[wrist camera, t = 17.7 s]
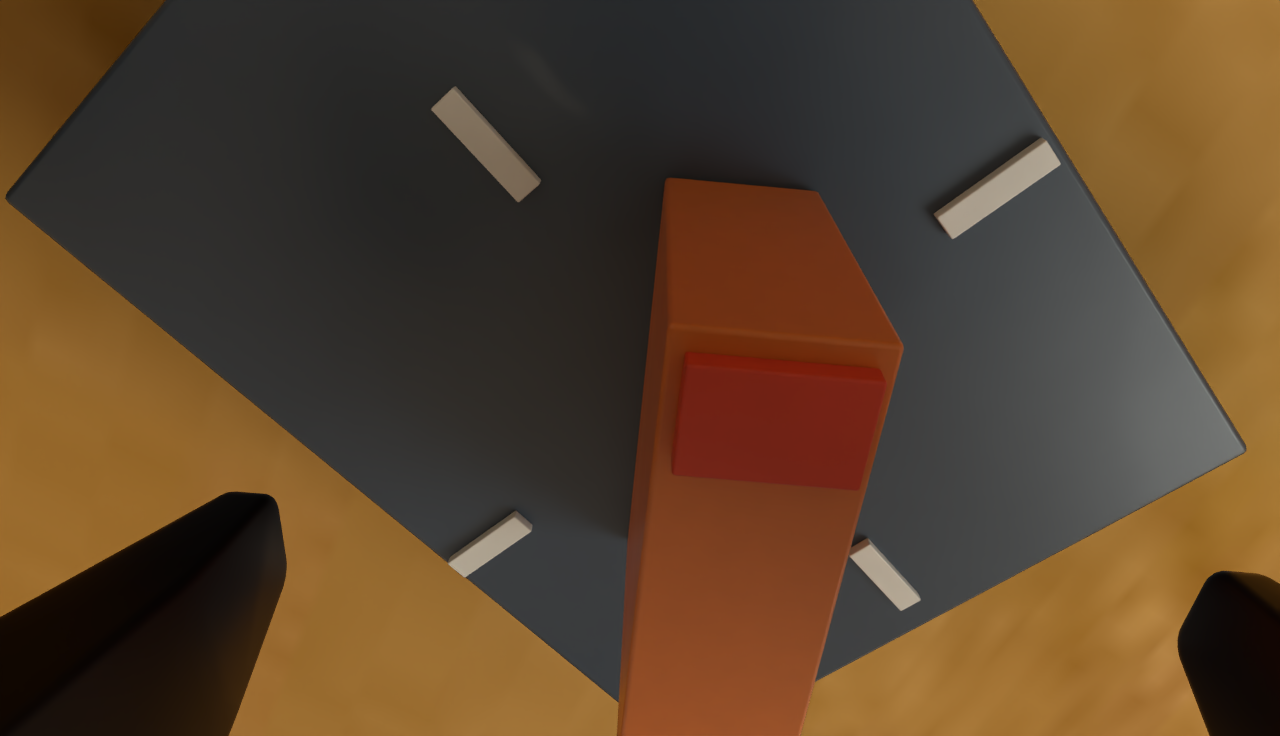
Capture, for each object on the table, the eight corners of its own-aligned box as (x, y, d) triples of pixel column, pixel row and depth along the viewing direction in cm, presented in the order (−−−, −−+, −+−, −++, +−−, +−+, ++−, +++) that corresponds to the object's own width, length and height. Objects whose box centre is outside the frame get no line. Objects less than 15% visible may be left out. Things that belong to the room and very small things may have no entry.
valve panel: (135, 139, 13) (-11, 203, 10) (637, -435, 10) (627, -577, 7) (677, 627, 17) (680, 764, 15) (1142, 351, 14) (1259, 458, 11)
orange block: (748, 554, 12) (786, 828, 9) (627, 544, 12) (611, 815, 9) (818, 190, 10) (915, 361, 6) (665, 175, 10) (667, 338, 6)
